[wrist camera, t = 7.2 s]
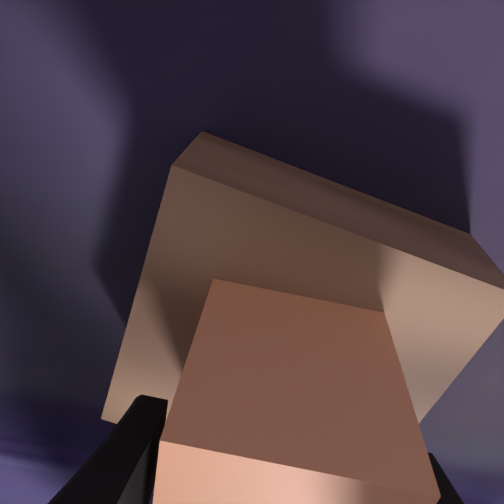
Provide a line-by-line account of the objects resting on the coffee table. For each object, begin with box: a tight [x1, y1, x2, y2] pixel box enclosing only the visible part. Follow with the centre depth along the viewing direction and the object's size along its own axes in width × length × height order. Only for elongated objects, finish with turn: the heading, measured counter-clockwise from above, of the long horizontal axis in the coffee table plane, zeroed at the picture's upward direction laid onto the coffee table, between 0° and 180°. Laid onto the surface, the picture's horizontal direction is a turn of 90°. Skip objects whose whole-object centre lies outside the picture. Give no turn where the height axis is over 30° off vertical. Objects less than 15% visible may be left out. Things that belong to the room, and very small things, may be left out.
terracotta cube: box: [153, 279, 441, 504], centre depth 10 cm, size 4×4×5 cm
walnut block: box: [101, 131, 504, 424], centre depth 14 cm, size 9×9×4 cm
